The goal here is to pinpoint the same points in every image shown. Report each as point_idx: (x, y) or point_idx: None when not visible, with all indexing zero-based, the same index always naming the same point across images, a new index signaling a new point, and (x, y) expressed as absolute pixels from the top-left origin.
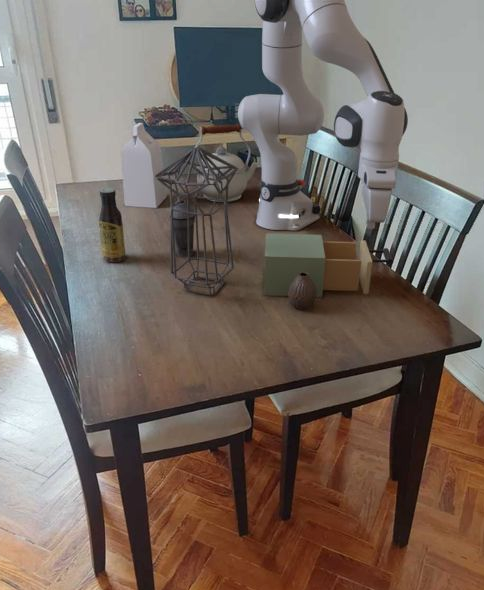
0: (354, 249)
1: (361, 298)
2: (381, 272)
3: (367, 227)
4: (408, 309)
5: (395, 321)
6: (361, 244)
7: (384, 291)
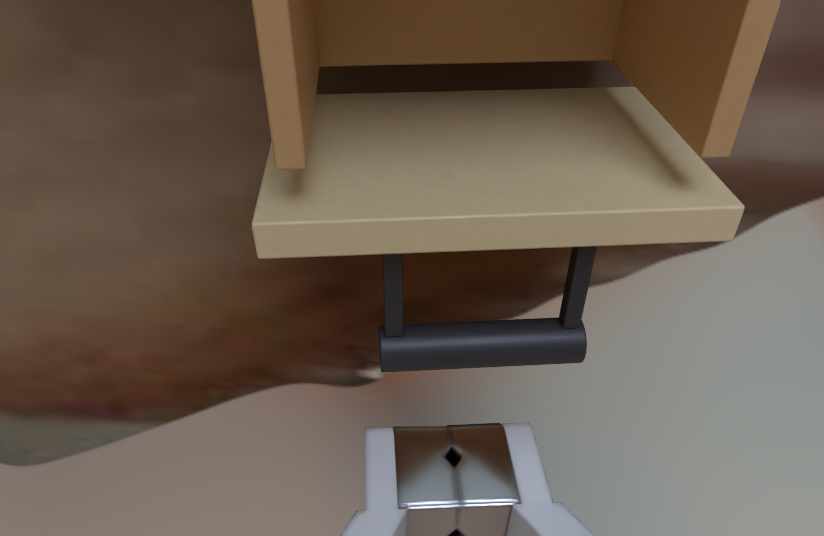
0: (677, 119)
1: None
2: None
3: (365, 436)
4: (191, 298)
5: (31, 229)
6: (684, 197)
7: None
